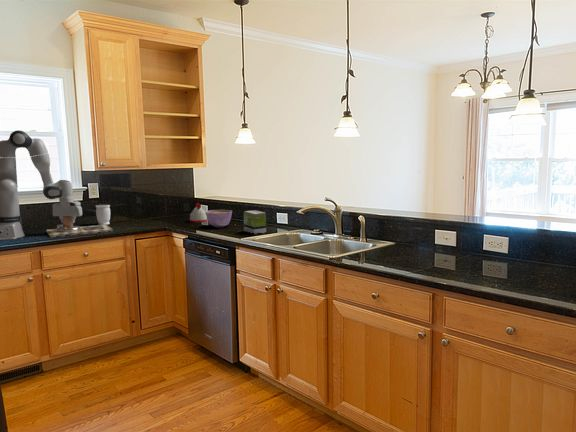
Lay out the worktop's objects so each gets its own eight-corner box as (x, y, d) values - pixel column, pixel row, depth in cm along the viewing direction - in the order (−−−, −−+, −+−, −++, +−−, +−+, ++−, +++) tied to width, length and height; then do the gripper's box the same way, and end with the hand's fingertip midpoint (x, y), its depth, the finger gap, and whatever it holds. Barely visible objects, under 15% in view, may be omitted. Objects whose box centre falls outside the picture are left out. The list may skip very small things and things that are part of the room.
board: (50, 237, 292) (49, 234, 292) (46, 231, 312) (46, 229, 312) (113, 231, 314) (112, 228, 314) (106, 226, 334) (105, 224, 334)
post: (58, 233, 300) (57, 226, 299) (55, 229, 312) (55, 223, 311) (82, 230, 308) (81, 224, 307) (78, 227, 320) (78, 221, 320)
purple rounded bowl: (227, 223, 347) (226, 209, 345) (236, 227, 330) (236, 212, 328) (202, 225, 338) (202, 210, 336) (210, 229, 320) (210, 214, 319)
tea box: (243, 231, 313) (243, 211, 311) (255, 230, 319) (255, 209, 317) (254, 234, 301) (254, 213, 299) (266, 233, 307) (266, 212, 305)
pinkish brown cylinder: (67, 228, 304) (66, 217, 303) (59, 228, 305) (58, 217, 303) (74, 226, 312) (74, 215, 311) (67, 226, 313) (66, 215, 312)
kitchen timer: (193, 223, 351) (192, 204, 348) (187, 220, 362) (186, 202, 360) (209, 221, 358) (209, 203, 356) (203, 219, 370) (202, 201, 367)
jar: (93, 224, 343) (92, 205, 341) (104, 222, 352) (103, 204, 350) (103, 225, 338) (102, 206, 336) (114, 223, 348) (112, 204, 345)
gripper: (49, 203, 305) (51, 223, 307) (77, 203, 303) (79, 223, 305) (55, 202, 311) (56, 221, 313) (82, 202, 310) (84, 221, 312)
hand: (68, 222), depth 309 cm, fingers closed on pinkish brown cylinder, 6 cm apart
